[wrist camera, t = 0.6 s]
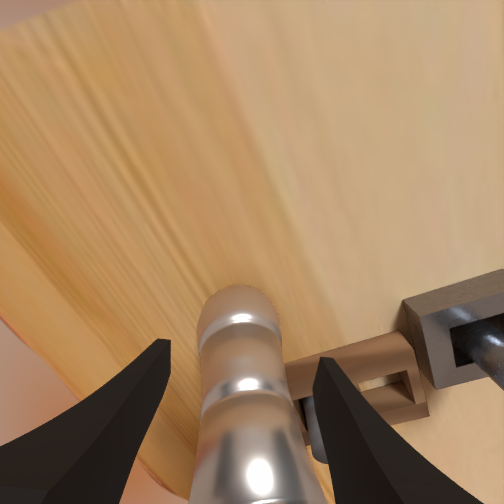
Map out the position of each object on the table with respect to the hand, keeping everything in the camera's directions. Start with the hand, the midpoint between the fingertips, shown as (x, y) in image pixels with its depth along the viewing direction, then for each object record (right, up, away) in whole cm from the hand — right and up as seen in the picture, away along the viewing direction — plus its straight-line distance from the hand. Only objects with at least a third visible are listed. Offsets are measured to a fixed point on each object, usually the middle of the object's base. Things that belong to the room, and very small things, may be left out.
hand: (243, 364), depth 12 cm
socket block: (+19, -1, +11) cm, 22 cm away
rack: (+10, -7, +13) cm, 18 cm away
